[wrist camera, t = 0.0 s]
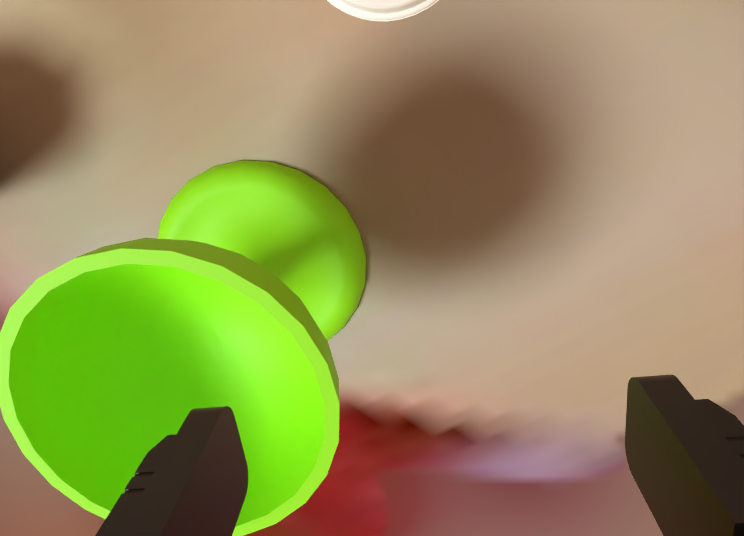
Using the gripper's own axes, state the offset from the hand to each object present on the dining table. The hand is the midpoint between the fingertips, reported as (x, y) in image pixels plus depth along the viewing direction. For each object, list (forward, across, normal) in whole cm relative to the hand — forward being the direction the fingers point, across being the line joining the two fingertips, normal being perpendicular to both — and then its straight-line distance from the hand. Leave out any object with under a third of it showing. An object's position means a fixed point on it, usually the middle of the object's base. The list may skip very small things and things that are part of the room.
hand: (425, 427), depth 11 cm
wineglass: (+30, +12, +7) cm, 33 cm away
